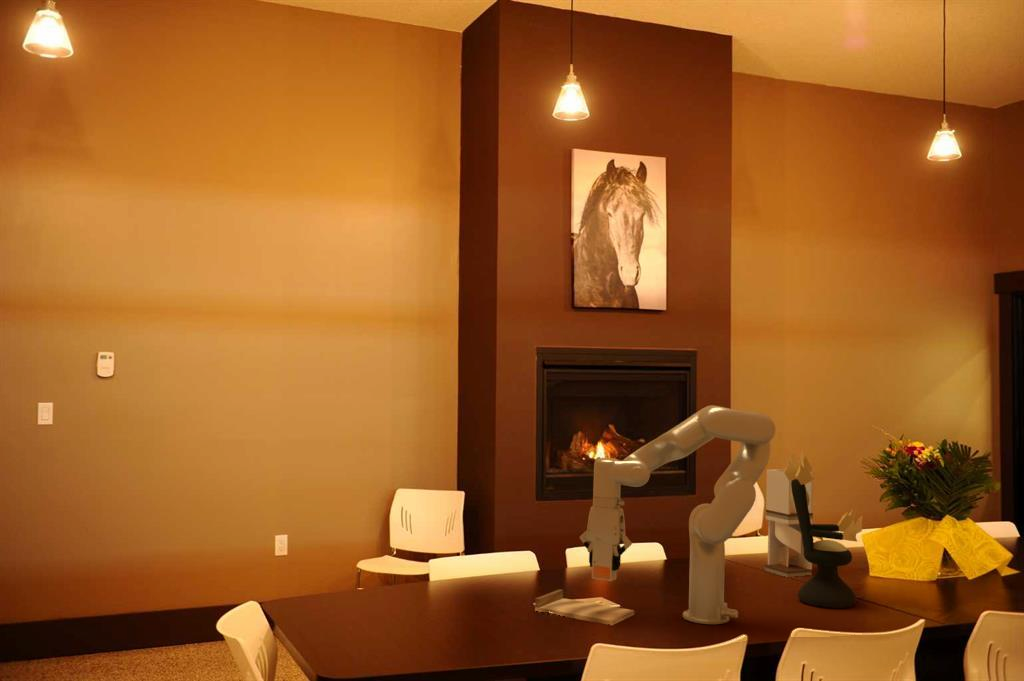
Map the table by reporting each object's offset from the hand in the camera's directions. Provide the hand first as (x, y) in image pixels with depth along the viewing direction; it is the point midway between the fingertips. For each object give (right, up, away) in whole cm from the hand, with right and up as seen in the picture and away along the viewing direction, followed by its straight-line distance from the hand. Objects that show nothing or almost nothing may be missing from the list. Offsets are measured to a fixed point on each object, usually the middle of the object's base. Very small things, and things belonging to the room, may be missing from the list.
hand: (604, 567), depth 267 cm
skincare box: (0, -3, 0) cm, 3 cm away
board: (-5, -13, +3) cm, 15 cm away
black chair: (+67, -16, +23) cm, 72 cm away
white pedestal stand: (+69, -17, +65) cm, 96 cm away
